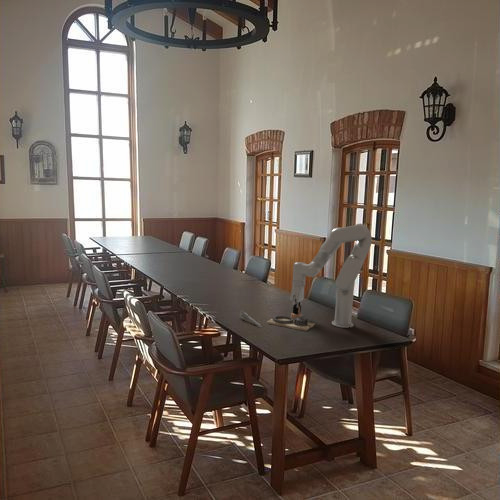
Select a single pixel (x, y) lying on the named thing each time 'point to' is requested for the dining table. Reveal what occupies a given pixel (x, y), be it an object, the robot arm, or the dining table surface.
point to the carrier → (291, 322)
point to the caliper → (244, 315)
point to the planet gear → (296, 314)
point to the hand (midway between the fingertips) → (296, 312)
